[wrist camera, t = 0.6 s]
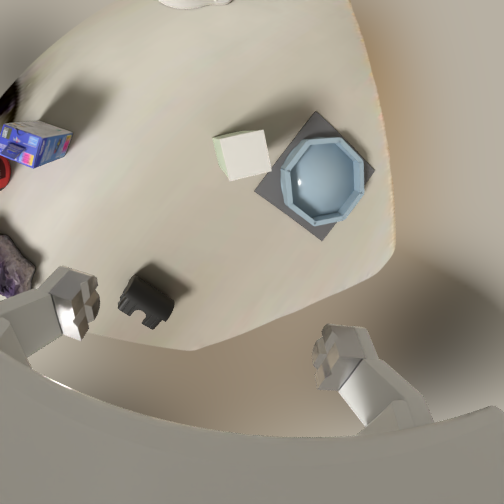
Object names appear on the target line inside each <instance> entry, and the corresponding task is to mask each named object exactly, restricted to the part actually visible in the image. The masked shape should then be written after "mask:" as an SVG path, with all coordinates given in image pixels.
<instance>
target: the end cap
mask: <svg viewBox="0 0 504 504" xmlns="http://www.w3.org/2000/svg"><path fill="white" fill-rule="evenodd" d="M173 308H174V300H172V299H171V298H169V297H168V296H166V295H164V294H163V293H161V292H160V291H158V290H157V289H155V288H154V287H152V286H151V285H149V284H148V283H146V282H145V281H143V280H142V279H140V278H139V277H137V276H136V275H134V276H132V277H131V279H130V280H129V282H128V285H127V287H126V288H125V289H124V291H123V294H122V295H121V297H120V301H119V303H118V309H119V310H120V311H122V312H124V313H125V314H127V315H128V316H131V314H132V313H133V312H134V311H135V310H141V311H143V312H144V313H145V314H146V318H145V319H144V320H143V321H142V324H143V325H145V326H147V327H149V328H150V329H152V330H153V329H155V327H156V326H157V325H158V324H159V323H160V322H161V321H162V320H164V321H165V322H166V321H167V320H168V318H169V317H170V315H171V313H172V311H173Z"/></svg>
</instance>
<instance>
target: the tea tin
mask: <svg viewBox="0 0 504 504" xmlns="http://www.w3.org/2000/svg"><path fill="white" fill-rule="evenodd" d="M212 139H213V143H214V147H215V152H216V156H217V160H218V164H219V167H220V168H221V169H222V171H223V172H224V173H225V174H226V175H227V177H228V178H229V181H234V180H237V179H241V178H245V177H249V176H253V175H258V174H262V173H266V172H270V171H272V169H271V164H270V159H269V154H268V149H267V144H266V139H265V135H264V130H258V131H238V132H234V133H230V134H225V135H221V136H217V137H213V138H212Z"/></svg>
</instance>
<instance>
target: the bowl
mask: <svg viewBox="0 0 504 504" xmlns="http://www.w3.org/2000/svg"><path fill="white" fill-rule="evenodd" d="M280 170H281V177H280V185H281V191H282V194H283V197H284V203H285V205H287V206H288V207H289V208H290V209H292V210H293V211H294V212H295V213H297V214H298V215H300V216H301V217H302V218H304V219H305V220H306V221H308V222H309V223H310V224H311V225H313V226H319V225H324V224H329V223H333V222H338V221H343V220H344V219H346V218H347V216H348V215H349V214H350V212H351V211H352V210H353V208H354V207H355V206H356V204H357V203H358V202H359V200H360V199H361V198H362V196H363V195H364V194H363V193H364V163H363V160H362V159H361V158H360V156H359V155H358V154H357V153H356V152H355V151H354V150H353V149H352V148H351V147H350V146H349V145H348V144H347V143H346V142H345V141H344V140H343V139H342V138H340V137H315V138H310V139H303V140H301V142H300V143H299V144H298V145H297V146H296V147H294V148H293V149H292V151H291V152H290V153H289V154H288V156H287V157H286V159H285V161H284V164H283V165H282V166H281V169H280Z"/></svg>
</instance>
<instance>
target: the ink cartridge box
mask: <svg viewBox="0 0 504 504" xmlns="http://www.w3.org/2000/svg"><path fill="white" fill-rule="evenodd" d="M72 135H73V133H72V132H70V131H68V130H65V129H62V128H59V127H56V126H53V125H50V124H47V123H44V122H41V121H26V122H15V123H7V124H4V125H3V128H2V131H1V135H0V155H1V156H3V157H6V158H9V159H11V160H14V161H16V162H18V163H21V164H23V165H26V166H28V167H31V168H33V169H34V168H36V167H39V166H41V165H44V164H46V163H49V162H51V161H54V160H57V159H60V158H62V157H64V156H65V154H66V151H67V148H68V145H69V143H70V140H71V137H72Z"/></svg>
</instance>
